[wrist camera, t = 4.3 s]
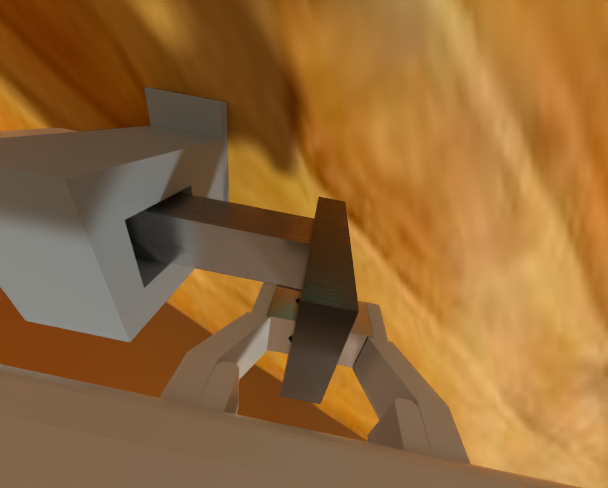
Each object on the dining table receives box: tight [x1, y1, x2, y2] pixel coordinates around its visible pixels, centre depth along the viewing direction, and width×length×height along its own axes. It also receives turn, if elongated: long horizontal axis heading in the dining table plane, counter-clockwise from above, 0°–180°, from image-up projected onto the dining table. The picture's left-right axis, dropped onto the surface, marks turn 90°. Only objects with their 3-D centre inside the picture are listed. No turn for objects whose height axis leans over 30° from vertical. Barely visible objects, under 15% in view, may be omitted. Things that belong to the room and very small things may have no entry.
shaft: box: [125, 192, 359, 404], centre depth 11 cm, size 5×20×8 cm, turn 81°
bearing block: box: [0, 87, 229, 342], centre depth 13 cm, size 12×5×12 cm, turn 171°
